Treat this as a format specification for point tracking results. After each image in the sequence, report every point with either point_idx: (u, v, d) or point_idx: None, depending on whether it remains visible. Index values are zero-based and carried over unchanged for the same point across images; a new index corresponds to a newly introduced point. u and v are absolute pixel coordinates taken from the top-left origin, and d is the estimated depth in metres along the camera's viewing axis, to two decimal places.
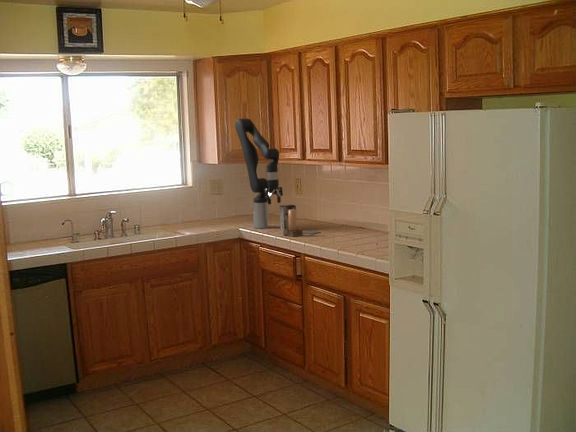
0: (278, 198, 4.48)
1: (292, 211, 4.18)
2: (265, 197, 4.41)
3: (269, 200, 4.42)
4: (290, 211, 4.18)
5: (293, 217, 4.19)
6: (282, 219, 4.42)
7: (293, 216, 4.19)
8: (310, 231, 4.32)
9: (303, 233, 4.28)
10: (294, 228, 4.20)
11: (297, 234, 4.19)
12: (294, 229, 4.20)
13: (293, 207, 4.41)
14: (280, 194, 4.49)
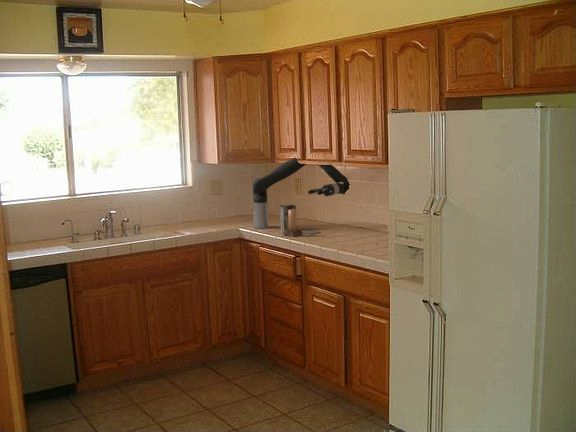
0: (312, 192, 4.38)
1: (292, 211, 4.18)
2: (326, 191, 4.31)
3: (321, 193, 4.31)
4: (290, 211, 4.18)
5: (293, 217, 4.19)
6: (282, 219, 4.42)
7: (293, 216, 4.19)
8: (310, 231, 4.32)
9: (303, 233, 4.28)
10: (294, 228, 4.20)
11: (297, 234, 4.19)
12: (294, 229, 4.20)
13: (293, 207, 4.41)
14: None
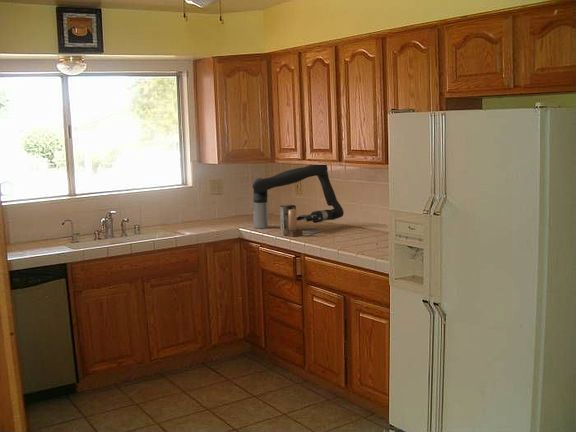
0: (300, 218, 4.32)
1: (292, 211, 4.18)
2: (315, 218, 4.25)
3: (310, 220, 4.26)
4: (290, 211, 4.18)
5: (293, 217, 4.19)
6: (282, 219, 4.42)
7: (293, 216, 4.19)
8: (310, 231, 4.32)
9: (303, 233, 4.28)
10: (294, 228, 4.20)
11: (297, 234, 4.19)
12: (294, 229, 4.20)
13: (293, 207, 4.41)
14: None
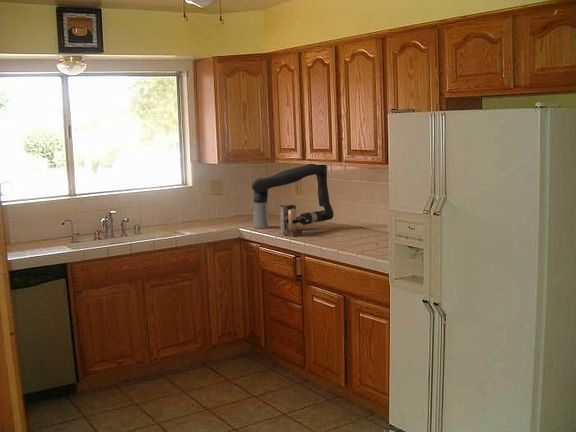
0: None
1: (292, 211, 4.18)
2: (300, 220, 4.19)
3: (296, 222, 4.19)
4: (290, 211, 4.18)
5: (293, 217, 4.19)
6: (282, 219, 4.42)
7: (293, 216, 4.19)
8: (310, 231, 4.32)
9: (303, 233, 4.28)
10: (294, 228, 4.20)
11: (297, 234, 4.19)
12: (294, 229, 4.20)
13: (293, 207, 4.41)
14: None
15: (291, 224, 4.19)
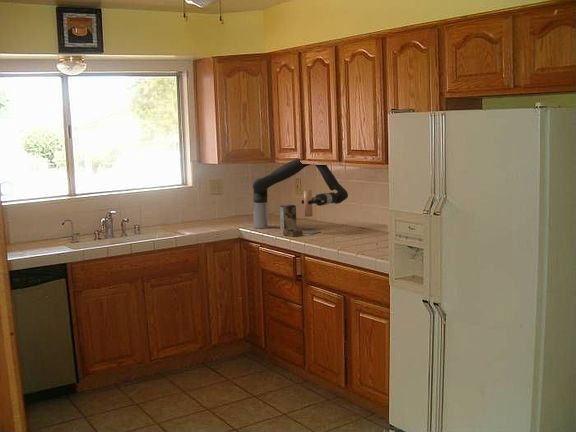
0: None
1: (307, 192, 4.22)
2: (316, 201, 4.23)
3: (311, 203, 4.24)
4: (305, 192, 4.23)
5: (308, 198, 4.23)
6: (282, 219, 4.42)
7: (308, 197, 4.23)
8: (310, 231, 4.32)
9: (303, 233, 4.28)
10: (310, 209, 4.24)
11: (297, 234, 4.19)
12: (310, 210, 4.24)
13: (293, 207, 4.41)
14: None
15: (307, 205, 4.24)
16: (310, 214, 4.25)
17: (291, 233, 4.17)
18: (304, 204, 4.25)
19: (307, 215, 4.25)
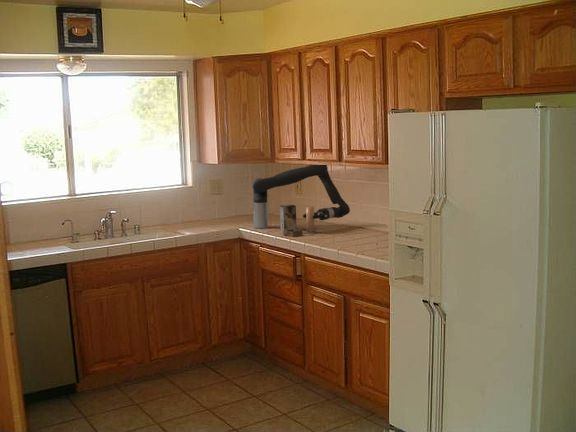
0: None
1: (310, 208, 4.25)
2: (321, 215, 4.25)
3: (316, 218, 4.25)
4: (308, 208, 4.25)
5: (311, 214, 4.25)
6: (282, 219, 4.42)
7: (311, 213, 4.25)
8: None
9: (303, 233, 4.28)
10: (312, 225, 4.27)
11: (297, 234, 4.19)
12: (312, 226, 4.27)
13: (293, 207, 4.41)
14: None
15: (309, 221, 4.26)
16: (312, 230, 4.27)
17: (291, 233, 4.17)
18: (306, 220, 4.27)
19: (309, 231, 4.27)
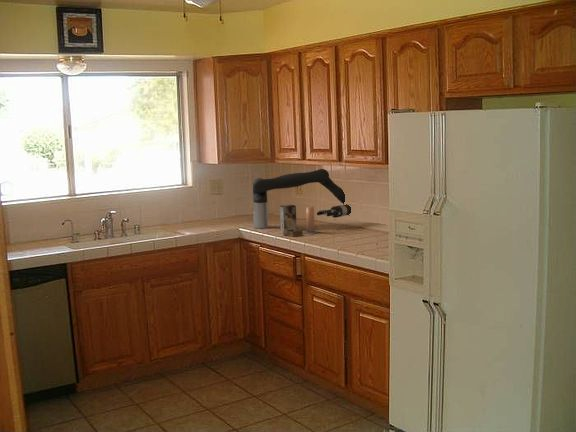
0: (320, 213, 4.41)
1: (310, 208, 4.25)
2: (335, 213, 4.34)
3: None
4: (308, 208, 4.25)
5: (311, 214, 4.26)
6: (282, 219, 4.42)
7: (311, 213, 4.25)
8: None
9: (303, 233, 4.28)
10: (312, 225, 4.27)
11: (297, 234, 4.19)
12: (312, 226, 4.27)
13: (293, 207, 4.41)
14: None
15: (309, 221, 4.26)
16: (312, 230, 4.27)
17: (291, 233, 4.17)
18: (306, 220, 4.27)
19: (309, 231, 4.27)
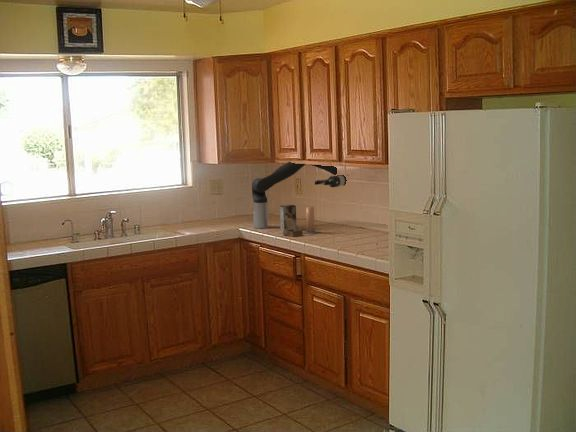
0: (318, 182, 4.44)
1: (310, 208, 4.25)
2: (332, 182, 4.38)
3: (328, 184, 4.38)
4: (308, 208, 4.25)
5: (311, 214, 4.26)
6: (282, 219, 4.42)
7: (311, 213, 4.25)
8: None
9: (303, 233, 4.28)
10: (312, 225, 4.27)
11: (297, 234, 4.19)
12: (312, 226, 4.27)
13: (293, 207, 4.41)
14: None
15: (309, 221, 4.26)
16: (312, 230, 4.27)
17: (291, 233, 4.17)
18: (306, 220, 4.27)
19: (309, 231, 4.27)
